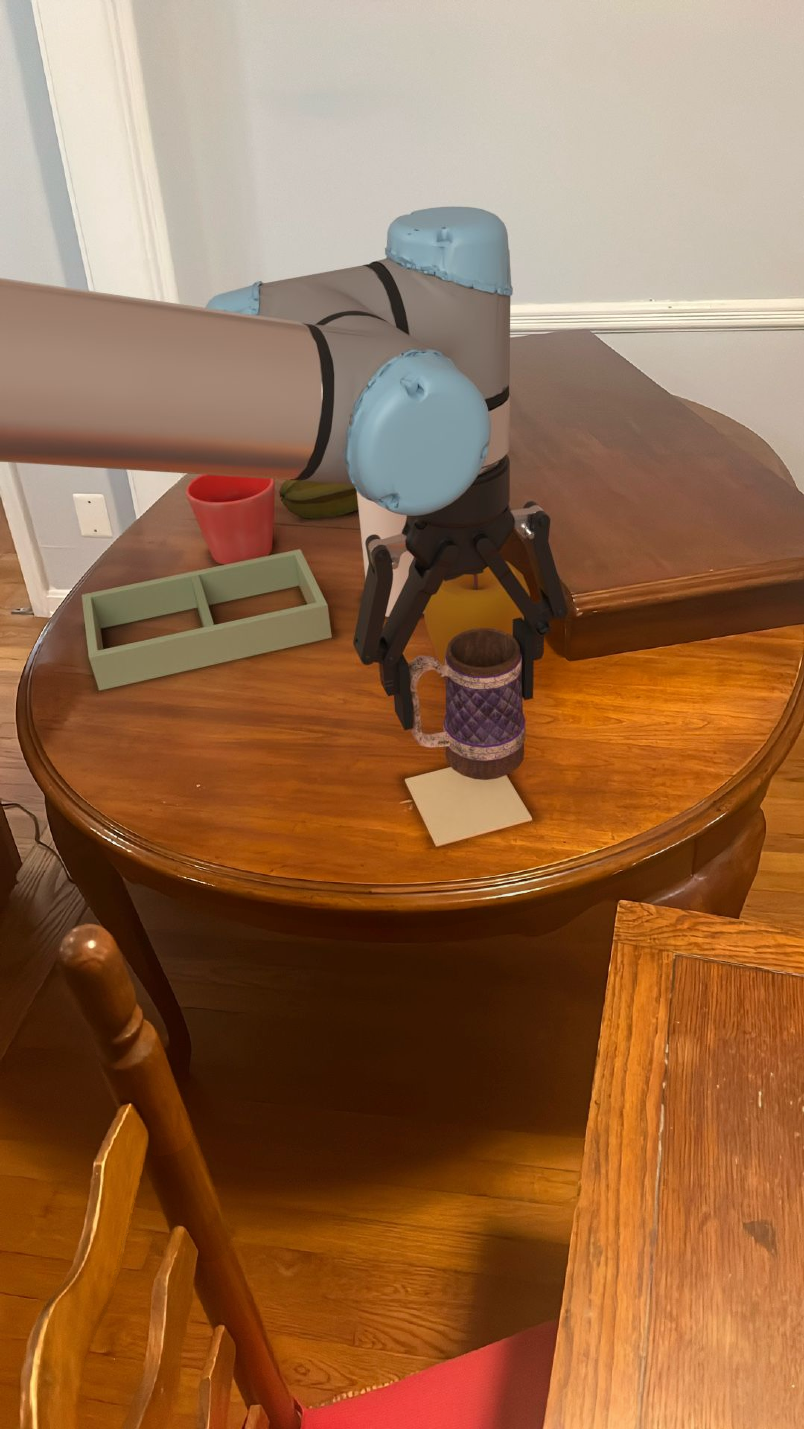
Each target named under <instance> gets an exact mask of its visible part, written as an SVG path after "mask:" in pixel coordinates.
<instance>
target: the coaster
mask: <svg viewBox="0 0 804 1429" xmlns="http://www.w3.org/2000/svg"><path fill="white" fill-rule="evenodd" d="M404 782H405V784H406V786H407V788H408V791H409V793H410V795H411V797H412V799H413V801H414V803H415V805H416V808H417V810H418V812H419V814H420V817H421V818H422V820H423V822H424V824H425V826H426V828H427V830H428V833H429V835H430V837H431V839H432V842H433V843H434V845H435V847H436V848H437V847H441V846H444V845H447V844H451V843H454V842H459V841H461V840H465V839H466V840H467V839H469V838H473V837H476V836H479V835H480V836H481V835H484V834H487V833H491V832H494V831H495V832H496V831H498V830H502V829H504V828H505V829H506V828H509V827H513V826H516V825H519V824H520V825H521V824H523V823H528V822H531V821H533V817H532V815H531V814H530V811H528V808H527V807H526V805H525V804H524V802H523V800H522V799H521V797H520V795H519V794H518V792H517V790H516V788H515V787H514V785H513V784H512V782H511V780H510V779H509V777H508V775H505V776H503V777H500V778H497V779H490V780H479V779H473V778H469V777H466V776H463V775H461V774H460V773H458V772H456V771H455V770H453V769H452V767H451V766H449V767H446V768H442V769H438V770H434V771H430V772H426V773H422V774H419V775H415V776H411V777H407V778H405V779H404Z"/></svg>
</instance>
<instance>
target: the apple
mask: <svg viewBox="0 0 804 1429" xmlns="http://www.w3.org/2000/svg"><path fill="white" fill-rule="evenodd" d="M505 562H506V563H507V565H508V566H509V567H510V569H511V571H512V572H513V574H514V575H515V576H516V578H517V579H518V581H519V582H520V584H521V585H522V586H523V588H524V589H525V591H526V592H527V594H528V595H529V596H530V597H531V593H530V589H529V587H528V585H527V582H526V580H525V576H524V575H523V573H522V572H520V571H519V570H518V569H517V568H516V567H515V566H513V564H511V563H510V562H509V561H508V560H507V561H506V560H505ZM483 571H484V573H480V574H475V575H462V576H460V577H458V578H456V579H453V580H448V581H444V580H443V582H442V584H441V586H440V588H439V590H438V592H437V593H436V594H434V595H432V596H431V598H430V600H429V602H428V604H427V606H426V608H425V610H424V614H423V615H424V616H423V617H424V624H425V627H426V631H427V635H428V638H429V641H430V644H431V647H432V650H433V653H434V654H435V656H436V659H437V660H438V661H439V662H440V663H441V665H442V666H445V656H446V652H447V646H448V643H449V642H450V641H451V640H452V638H453V637H455V636H457V635H458V634H460V633H462V632H465V631H468V630H471V629H478V628H492V629H496V630H501V631H504V632H506V633H508V634H510V635H512V636H513V619H516V618H520V617H521V618H522V619H523V620H524V616H523V614H522V613H521V612H520V610H519V609H518V607H517V606H516V605H515V603H514V602H513V601H512V599H511V598H510V596H509V595H508V594H507V592H506V591H505V589H504V588H503V587H502V585H501V584H500V583H499V581H498V580H497V578H496V577H495V576H494V574H493V573H492V571H491V570H490V569H489V567H487V568H485V569H483Z"/></svg>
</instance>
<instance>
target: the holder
mask: <svg viewBox="0 0 804 1429" xmlns="http://www.w3.org/2000/svg"><path fill="white" fill-rule="evenodd" d="M294 587H299V589H300V591H301V593H302V595H303V598H304V600H305V602H306V604H304V605H299V606H295V607H289V608H286V609H281V610H276V611H271V612H267V613H262V614H257V615H253V616H249V617H244V618H240V619H236V620H231V621H226V622H222V623H218V624H215V622H214V619H213V616H212V613H211V609H210V607H209V606H211V605H216V604H221V603H225V602H230V601H234V600H238V599H239V600H240V599H244V598H248V597H252V596H258V595H261V594H266V593H271V592H276V591H281V590H286V589H290V588H294ZM81 601H82V610H83V618H84V627H85V636H86V637H85V638H86V645H87V654H88V660H89V663H90V666H91V669H92V672H93V676H94V679H95V681H96V685H97V688H98V691H104V690H108V689H112V688H113V689H114V688H117V687H121V686H125V685H130V684H134V683H139V682H143V681H148V680H152V679H157V678H160V677H166V676H169V675H174V674H178V673H183V672H186V671H192V670H197V669H200V668H204V667H208V666H214V665H217V664H222V663H226V662H230V661H235V660H240V659H243V658H249V657H252V656H257V655H261V654H262V655H263V654H266V653H271V652H275V651H279V650H284V649H287V648H292V647H296V646H301V645H305V644H310V643H313V642H318V641H323V640H327V639H332V637H333V636H332V635H333V634H332V628H331V620H330V612H329V611H330V610H329V604H328V603H327V600H326V599H325V597H324V595H323V593H322V590H321V589H320V586H319V585H318V582H317V580H316V578H315V576H314V574H313V572H312V569H311V568H310V566H309V564H308V562H307V559H306V558H305V556H304V553H303V552H302V549H300V548H299V549H294V550H290V551H285V552H280V553H279V552H278V553H275V554H269V555H268V556H265V557H260V558H255V559H251V560H246V561H241V562H236V563H231V564H227V565H223V564H221V565H217V566H213V567H208V568H203V569H199V570H193V571H188V572H184V573H179V574H175V575H174V574H173V575H170V576H164V577H160V578H155V579H150V580H146V581H140V582H136V583H131V584H127V585H122V586H117V587H112V588H108V589H102V590H98V591H93V592H88V593H84V594H81ZM192 609H197V610H198V611H197V612H198V614H199V618H200V621H201V624H202V627H199V628H195V629H194V628H193V629H189V630H185V631H181V632H176V633H172V634H167V635H163V636H157V637H154V638H148V639H145V640H140V641H135V642H131V643H127V644H122V645H116V646H112V647H108V648H104V645H103V637H102V629H105V628H109V627H114V626H119V625H124V624H128V623H133V622H137V621H142V620H146V619H147V620H148V619H151V618H156V617H160V616H165V615H170V614H174V613H179V612H184V611H188V610H192Z"/></svg>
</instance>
